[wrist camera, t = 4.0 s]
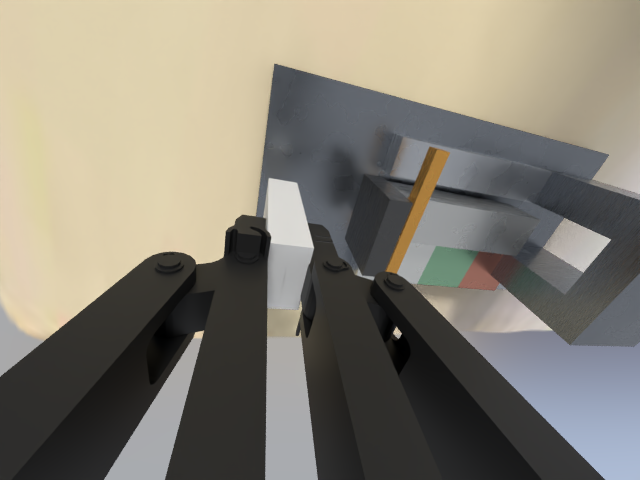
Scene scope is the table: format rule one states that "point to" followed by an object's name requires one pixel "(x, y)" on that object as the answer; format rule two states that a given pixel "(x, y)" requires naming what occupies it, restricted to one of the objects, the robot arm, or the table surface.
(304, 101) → the gauge base
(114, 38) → the table surface
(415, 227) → the orange-striped grey block
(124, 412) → the robot arm
